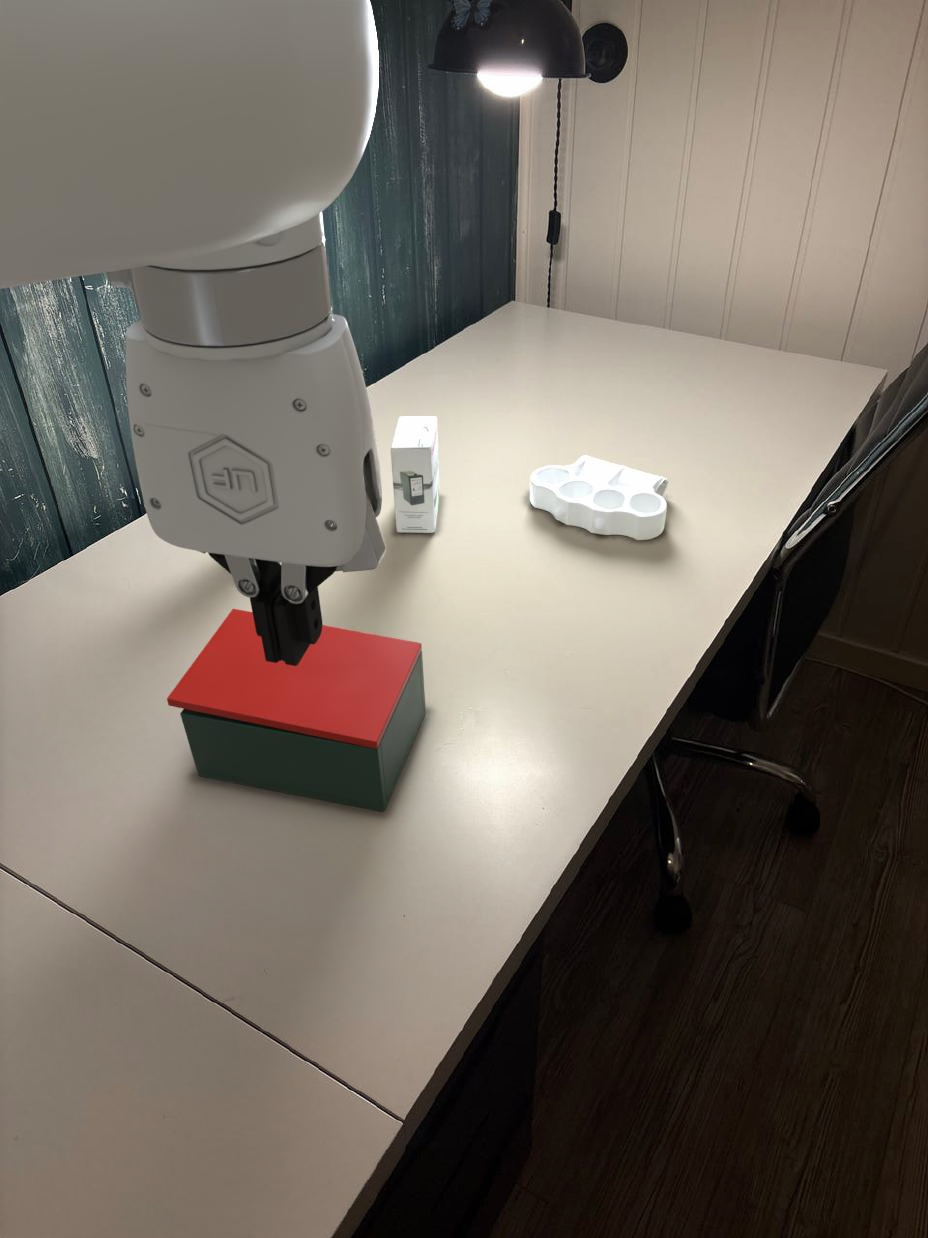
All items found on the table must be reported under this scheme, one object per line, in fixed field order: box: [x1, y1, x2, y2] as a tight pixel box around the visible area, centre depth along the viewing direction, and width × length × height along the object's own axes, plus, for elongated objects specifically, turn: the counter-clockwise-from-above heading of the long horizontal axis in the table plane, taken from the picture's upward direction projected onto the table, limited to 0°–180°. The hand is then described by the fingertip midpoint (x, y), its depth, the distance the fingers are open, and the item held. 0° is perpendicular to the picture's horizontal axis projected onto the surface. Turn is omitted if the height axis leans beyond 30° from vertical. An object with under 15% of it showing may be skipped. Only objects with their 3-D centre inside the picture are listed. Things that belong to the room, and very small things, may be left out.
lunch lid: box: [166, 608, 423, 749], centre depth 80 cm, size 18×13×1 cm
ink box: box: [390, 415, 440, 534], centre depth 112 cm, size 9×5×12 cm, turn 177°
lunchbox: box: [179, 650, 427, 813], centre depth 83 cm, size 18×13×8 cm
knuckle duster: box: [529, 455, 669, 541], centre depth 115 cm, size 3×18×15 cm
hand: (292, 646), depth 48 cm, fingers closed
